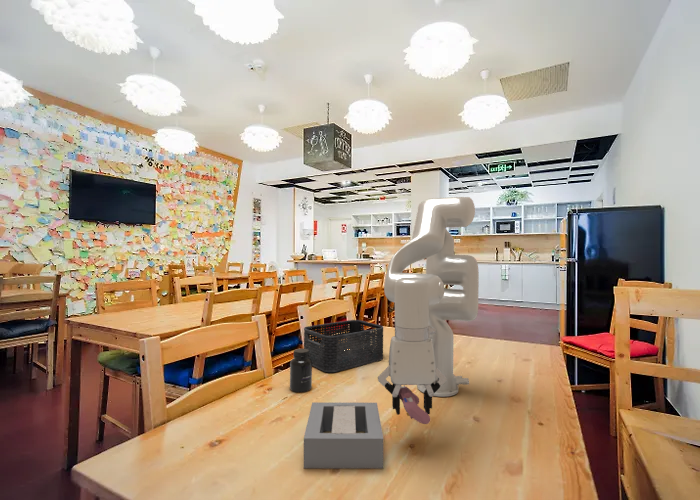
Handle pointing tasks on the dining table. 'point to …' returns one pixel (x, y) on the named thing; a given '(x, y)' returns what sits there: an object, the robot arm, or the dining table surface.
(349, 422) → the beige insert in tray
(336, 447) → the grey square box
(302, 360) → the supplement bottle
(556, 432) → the dining table surface
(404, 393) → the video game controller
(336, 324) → the storage bin
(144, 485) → the dining table surface
